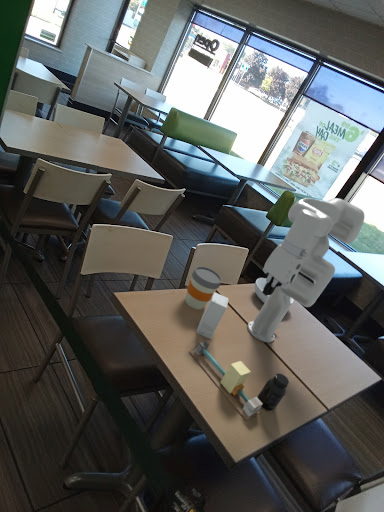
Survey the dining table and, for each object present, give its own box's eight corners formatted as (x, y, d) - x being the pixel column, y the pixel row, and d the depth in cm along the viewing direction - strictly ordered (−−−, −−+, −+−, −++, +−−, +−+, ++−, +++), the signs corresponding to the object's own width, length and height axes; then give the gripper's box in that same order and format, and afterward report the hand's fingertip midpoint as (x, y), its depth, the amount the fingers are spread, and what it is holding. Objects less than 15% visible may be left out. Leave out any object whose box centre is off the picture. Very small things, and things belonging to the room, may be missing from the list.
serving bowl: (272, 317, 184) (279, 306, 181) (242, 290, 196) (248, 279, 193) (294, 310, 199) (301, 300, 196) (265, 286, 211) (271, 276, 208)
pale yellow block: (229, 378, 133) (240, 360, 129) (239, 389, 130) (250, 371, 126) (220, 382, 129) (230, 364, 126) (229, 393, 126) (241, 375, 123)
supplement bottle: (254, 393, 133) (270, 368, 128) (271, 397, 134) (288, 373, 129) (258, 409, 127) (276, 384, 122) (277, 413, 128) (294, 389, 123)
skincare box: (210, 340, 149) (227, 308, 142) (194, 332, 149) (211, 301, 142) (213, 328, 156) (229, 298, 150) (198, 321, 157) (214, 290, 150)
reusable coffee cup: (199, 315, 160) (213, 287, 154) (175, 298, 164) (189, 269, 158) (212, 306, 171) (227, 279, 165) (190, 290, 175) (203, 263, 169)
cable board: (204, 348, 143) (209, 338, 141) (260, 412, 126) (267, 402, 124) (189, 352, 137) (194, 342, 136) (245, 420, 120) (252, 410, 118)
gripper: (317, 261, 120) (288, 306, 127) (282, 235, 129) (257, 279, 136) (305, 261, 115) (275, 309, 122) (269, 235, 123) (244, 281, 131)
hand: (266, 293), depth 129 cm, fingers closed
